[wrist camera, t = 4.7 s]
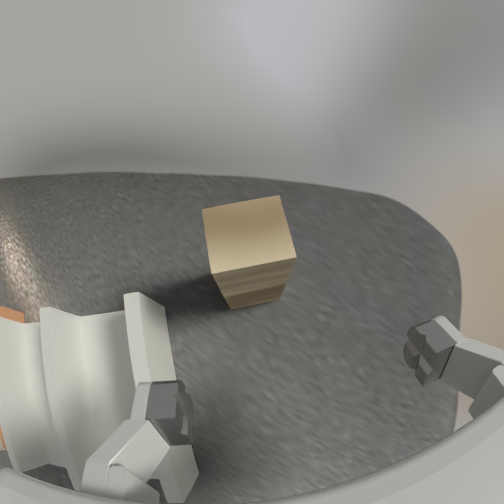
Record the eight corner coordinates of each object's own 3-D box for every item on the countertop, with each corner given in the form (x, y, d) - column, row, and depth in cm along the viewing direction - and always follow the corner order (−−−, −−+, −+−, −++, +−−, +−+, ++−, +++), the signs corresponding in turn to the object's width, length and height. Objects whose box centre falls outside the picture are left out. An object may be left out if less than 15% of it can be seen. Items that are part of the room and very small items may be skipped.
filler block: (279, 299, 20) (296, 256, 12) (230, 309, 20) (211, 273, 11) (270, 260, 21) (279, 195, 13) (223, 269, 21) (201, 209, 12)
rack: (199, 473, 15) (183, 503, 11) (6, 446, 14) (-26, 451, 9) (162, 291, 20) (137, 271, 16) (-12, 318, 19) (-44, 307, 14)
